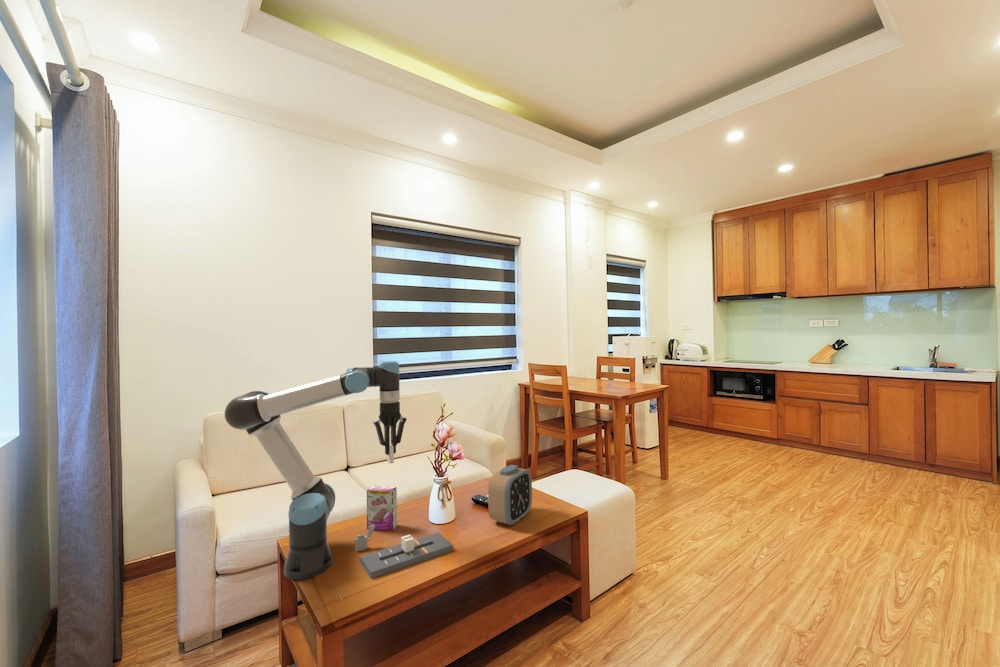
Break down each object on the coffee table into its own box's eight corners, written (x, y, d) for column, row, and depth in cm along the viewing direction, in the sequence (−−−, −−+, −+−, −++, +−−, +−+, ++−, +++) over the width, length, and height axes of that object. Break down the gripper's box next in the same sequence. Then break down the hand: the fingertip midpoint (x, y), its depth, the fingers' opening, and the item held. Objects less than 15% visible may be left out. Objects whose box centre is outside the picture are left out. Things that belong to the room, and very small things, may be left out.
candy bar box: (366, 530, 170) (365, 489, 170) (371, 524, 175) (370, 485, 175) (393, 531, 169) (392, 490, 169) (397, 525, 174) (397, 485, 174)
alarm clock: (508, 532, 166) (508, 477, 166) (488, 526, 171) (487, 473, 171) (532, 512, 184) (532, 463, 184) (513, 508, 189) (513, 460, 189)
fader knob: (405, 558, 147) (405, 541, 147) (401, 553, 150) (400, 536, 150) (414, 555, 149) (414, 538, 149) (409, 550, 152) (409, 533, 152)
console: (370, 578, 136) (370, 571, 136) (360, 562, 146) (359, 555, 146) (453, 550, 153) (453, 544, 153) (438, 537, 163) (438, 531, 163)
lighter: (355, 551, 153) (355, 529, 153) (354, 549, 155) (354, 527, 155) (375, 546, 157) (375, 525, 157) (374, 544, 158) (374, 523, 158)
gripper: (376, 404, 156) (377, 468, 156) (409, 400, 163) (410, 461, 163) (369, 401, 162) (370, 463, 162) (402, 398, 169) (403, 457, 169)
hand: (390, 462), depth 163 cm, fingers closed
